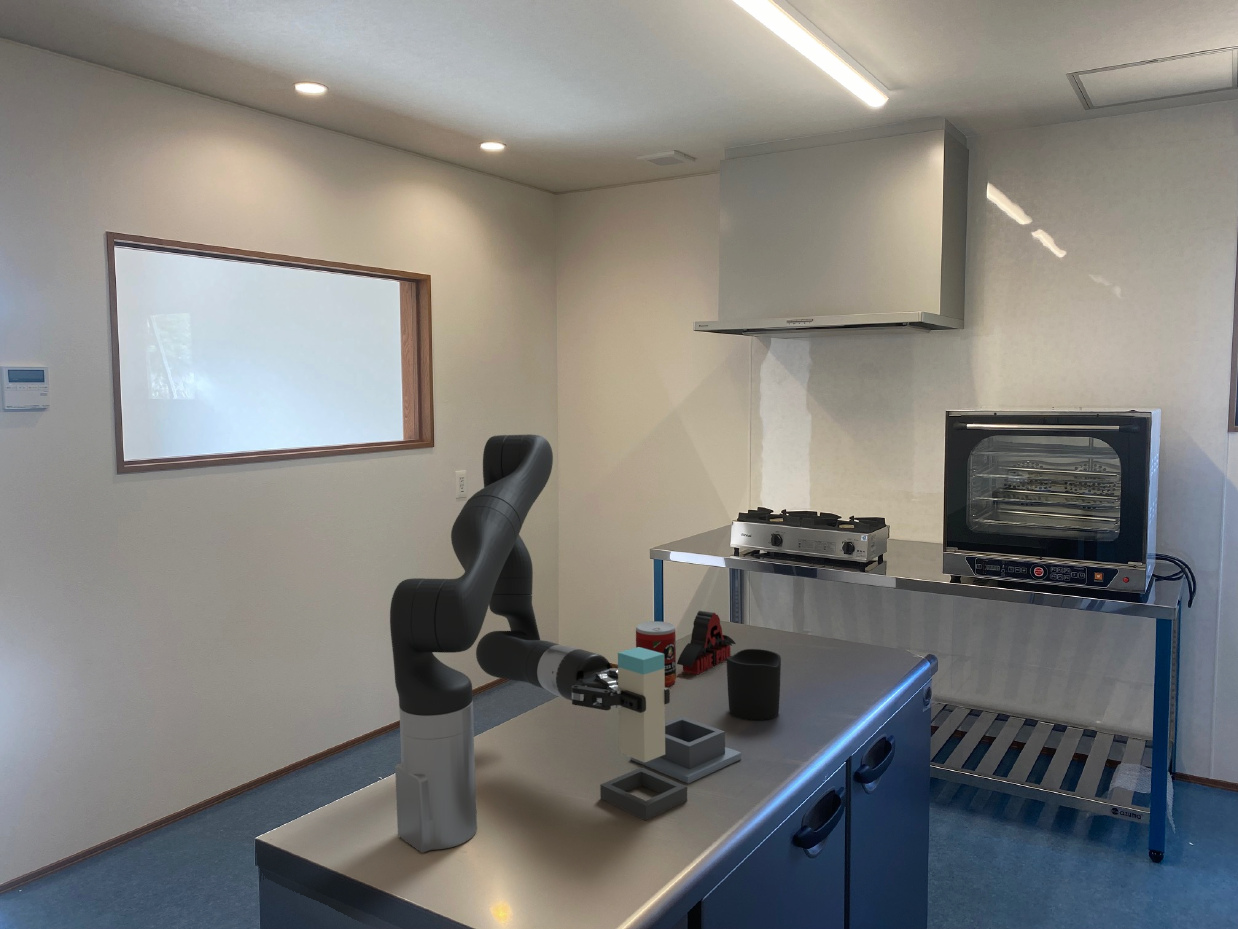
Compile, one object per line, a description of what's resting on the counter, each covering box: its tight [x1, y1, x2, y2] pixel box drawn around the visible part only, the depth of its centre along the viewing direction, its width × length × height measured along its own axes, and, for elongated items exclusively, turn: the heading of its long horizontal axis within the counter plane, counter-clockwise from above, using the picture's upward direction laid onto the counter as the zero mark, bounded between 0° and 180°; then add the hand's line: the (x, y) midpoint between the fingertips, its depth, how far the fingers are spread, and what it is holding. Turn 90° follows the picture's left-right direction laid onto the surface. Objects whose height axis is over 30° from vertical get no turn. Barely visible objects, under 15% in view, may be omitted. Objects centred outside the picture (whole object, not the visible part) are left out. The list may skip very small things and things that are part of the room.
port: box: [630, 716, 742, 784], centre depth 136 cm, size 12×12×4 cm
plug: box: [617, 647, 666, 763], centre depth 121 cm, size 4×5×14 cm
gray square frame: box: [599, 767, 688, 821], centre depth 122 cm, size 8×9×2 cm
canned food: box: [635, 621, 677, 688], centre depth 172 cm, size 8×8×11 cm
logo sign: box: [676, 610, 736, 675], centre depth 182 cm, size 18×4×11 cm, turn 144°
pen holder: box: [725, 648, 782, 722], centre depth 155 cm, size 9×9×10 cm
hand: (655, 700), depth 119 cm, fingers closed on plug, 4 cm apart
